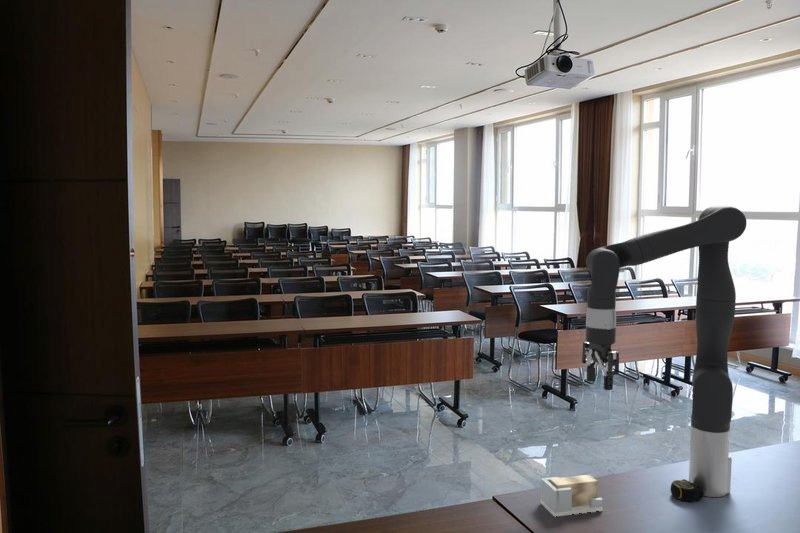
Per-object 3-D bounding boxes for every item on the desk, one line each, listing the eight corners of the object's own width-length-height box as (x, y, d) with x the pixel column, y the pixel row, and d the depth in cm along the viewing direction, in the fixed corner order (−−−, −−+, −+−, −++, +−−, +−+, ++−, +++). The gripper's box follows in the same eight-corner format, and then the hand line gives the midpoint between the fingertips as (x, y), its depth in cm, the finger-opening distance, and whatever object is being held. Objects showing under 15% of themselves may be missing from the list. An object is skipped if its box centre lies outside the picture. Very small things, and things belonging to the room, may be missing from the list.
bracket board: (587, 497, 165) (587, 473, 164) (602, 511, 158) (603, 485, 157) (540, 503, 162) (541, 478, 161) (554, 516, 155) (554, 490, 154)
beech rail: (557, 509, 157) (557, 485, 156) (549, 501, 160) (549, 478, 160) (597, 504, 159) (597, 480, 159) (588, 497, 163) (589, 474, 163)
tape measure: (705, 502, 163) (705, 487, 163) (683, 505, 161) (683, 491, 161) (685, 490, 169) (686, 477, 169) (664, 494, 167) (665, 480, 167)
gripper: (574, 320, 173) (573, 379, 174) (602, 330, 159) (600, 393, 161) (599, 319, 175) (597, 377, 176) (629, 329, 161) (627, 391, 162)
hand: (599, 385), depth 168 cm, fingers open, 8 cm apart
